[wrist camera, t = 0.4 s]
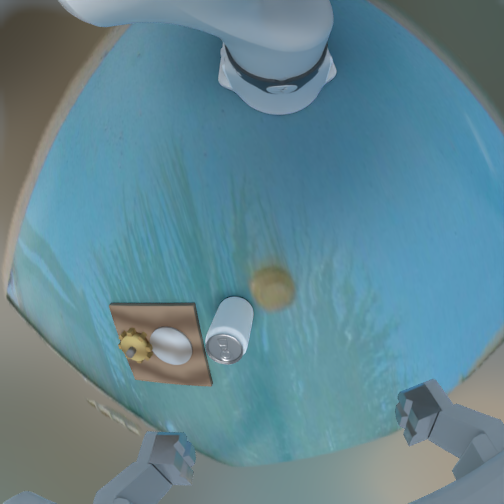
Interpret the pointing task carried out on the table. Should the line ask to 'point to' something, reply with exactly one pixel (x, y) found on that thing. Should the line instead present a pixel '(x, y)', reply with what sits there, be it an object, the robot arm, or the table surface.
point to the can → (230, 331)
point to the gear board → (162, 342)
